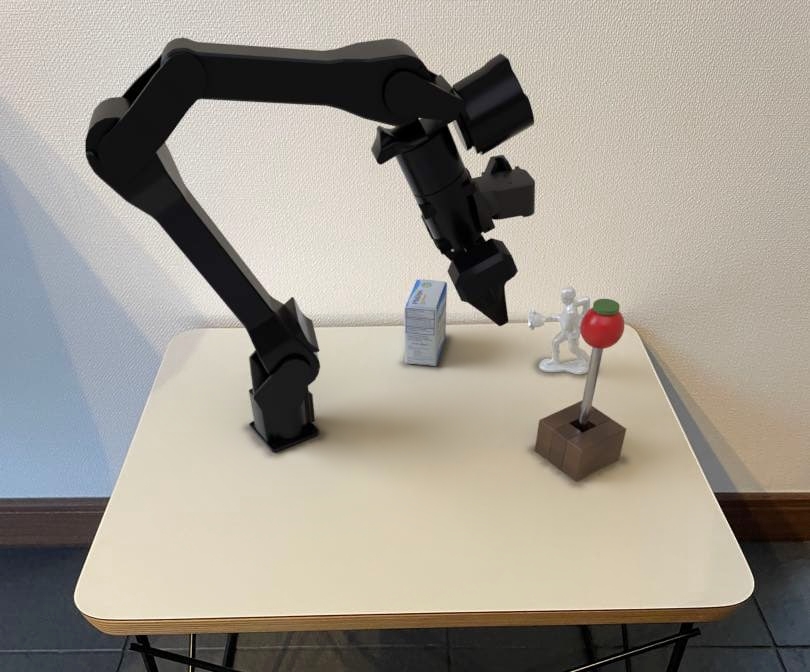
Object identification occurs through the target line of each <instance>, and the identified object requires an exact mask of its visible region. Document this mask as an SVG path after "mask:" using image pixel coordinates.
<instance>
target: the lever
mask: <svg viewBox="0 0 810 672" xmlns="http://www.w3.org/2000/svg"><path fill="white" fill-rule="evenodd" d="M620 307H621V306H620V304H619V302H618V301H616V300H615V299H611V298H598V299H596V300H595V301H594V302H593V305H592V307H590V309H589V310H588V311H587V312H586V313H585V315H584V316H583V318H582V321H581V325H580V331H581V334H580V336H581V337H582V339H583V341H584V342H585V344H587V346H589V347H591V353H590V356H591V359H590V364H589V369H588V372H587V373H586V374H587V375H586V380H585V384H584V388H583V389H584V390H583V394H582V400H581V401H582V405H581V410H580V415H579V420H578V426H577V429H578V430H579V431H581V432H582V433H583V432H585V431H586V430H587V426H588V421H589V416H590V411H591V406H593V400H594V395H595V392H596V391H595V390H596V386H597V382H598V377H599V373H600V366H601V362H602V356H603V352H604V349H609V348H611V347H613V346H614V345H616V344H617V343H618V342H619V341H620V340H621V338H622V337H623V334H624V331H625V318H624V316H623V314H622V313H621V311H620Z"/></svg>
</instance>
